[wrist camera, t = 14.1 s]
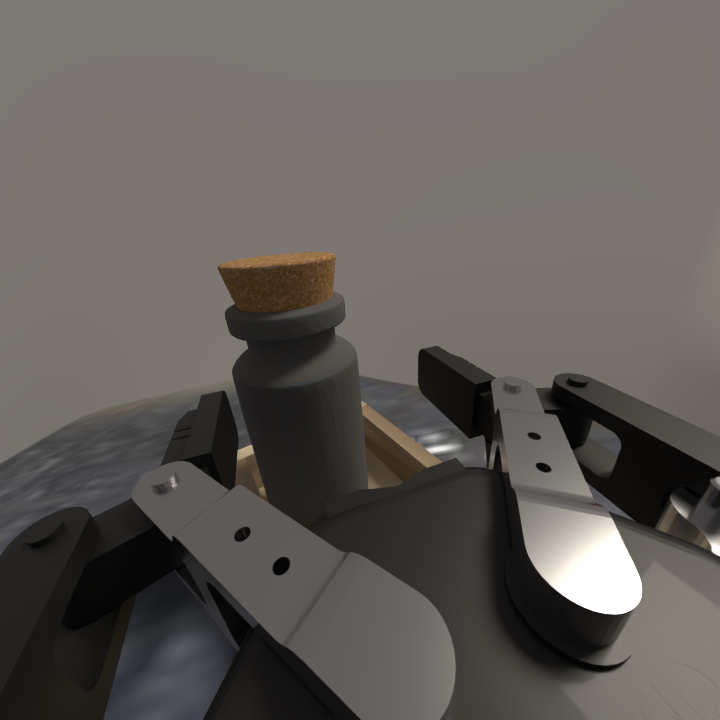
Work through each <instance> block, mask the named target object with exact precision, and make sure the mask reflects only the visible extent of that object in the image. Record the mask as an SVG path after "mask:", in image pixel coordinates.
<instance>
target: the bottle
mask: <svg viewBox="0 0 720 720" xmlns="http://www.w3.org/2000/svg"><path fill="white" fill-rule="evenodd" d="M335 257H336V256H335V255H334V254H333V253H327V252H304V253H290V254H279V255H269V256H260V257H253V258H246V259H239V260H234V261H229V262H225V263H222V264H220V265H219V266H218V270H219V272H220V274H221V276H222V278H223V281H224V283H225V285H226V287H227V289H228V291H229V292H230V295H231V297H232V299H233V301H234V303H235V304H234V305H232V306H230V307H229V308H228V309H227V310H226V311H225V319H226V322H227V325H228V329H229V332H230V333H231V335H232V336H234V337H235V338H237V339H241V340H245V341H247V345H248V349H247V350H246V351H245V352H244V353H242V355H241V356H240V357H239V358H238V359H237V361H236V363H235V365H234V366H233V370H232V374H233V380H234V383H235V387H236V391H237V394H238V398H239V402H240V405H241V409H242V413H243V416H244V420H245V423H246V427H247V430H248V434H249V437H250V441H251V444H252V447H253V451H254V454H255V458H256V461H257V465H258V468H259V472H260V475H261V478H262V482H263V485H264V489H265V492H266V495H267V499H268V502H269V504H271V505H272V506H274V507H275V508H277V509H278V510H280V511H281V512H282V513H284V514H285V515H287V516H288V517H290V518H291V519H293V520H294V521H296V522H297V523H299V524H300V525H302V526H303V527H305V528H306V529H307V528H308V527H309V526H310V525H312V524H313V523H314V522H315V521H317V520H318V519H319V518H321V517H322V516H324V515H325V508H324V503H323V502H325V501H328V500H331V499H334V498H337V497H340V496H343V495H346V494H349V493H352V492H355V491H358V490H365V489H369V488H368V475H367V463H366V451H365V439H364V426H363V414H362V403H361V391H360V381H359V370H358V361H357V355H356V350H355V348H354V347H353V346H352V344H351V343H349V342H348V341H346V340H345V339H344V338H342V337H340V336H337V335H335V329H334V327H336V326H337V325H339V324H340V323H341V322H342V321H343V320H344V318H345V303H344V298H343V296H342V295H340V294H338V293H336V292H333V281H334V269H335Z"/></svg>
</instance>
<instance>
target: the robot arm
mask: <svg viewBox="0 0 720 720" xmlns="http://www.w3.org/2000/svg"><path fill="white" fill-rule="evenodd" d="M418 356H419V357H418V384H419V388H420V391H421V393H422V394H423V395H424V396H425V397H426V398H427V399H428V400H429V401H430V402H431V403H432V404H433V405H435V406H436V407H437V408H438V409H439V410H440V411H441V412H442V413H443V414H444V415H445V416H446V417H447V418H448V419H449V420H450V421H451V422H453V423H454V424H455V425H456V426H457V427H458V428H459V429H460V430H461V431H462V432H463V433H464V434H465V435H466V436H467V437H468V438H469V439H471V438H474V437H477V436H481V435H483V436H484V443H483V447H484V463H485V468H479V467H464V466H463V465H462V464H461V463H460V462H459V461H458V459H457V458H455V459H452V460H449V461H446V462H443V463H439V464H436V465H433V466H430V467H427V468H425V469H424V470H422V471H421V472H419V473H418V474H416V475H415V476H413V477H411V478H410V479H408V480H407V481H405V482H404V483H402V484H400V485H398V486H393V487H384V488H374V489H365V490H358V491H355V492H352V493H349V494H346V495H343V496H340V497H337V498H334V499H331V500H328V501H325V502H323V503H324V508H325V515H324V516H322V517H321V518H319V519H318V520H317V521H315V522H314V523H313V524H312V525H310V526H309V527H308V528H307V529H306V528H305V527H303V526H302V525H300V524H299V523H297V522H296V521H294V520H293V519H291V518H290V517H288V516H287V515H285V514H284V513H282V512H281V511H280V510H278V509H277V508H275V507H274V506H272V505H271V504H269V503H268V502H266V501H265V500H263V499H262V498H260V497H259V496H257V495H256V494H254V493H253V492H251V491H250V490H248V489H247V488H245V487H244V486H242V485H235V481H236V467H237V453H238V432H237V427H236V424H235V420H234V417H233V414H232V411H231V407H230V404H229V401H228V398H227V395H226V393H225V391H219V392H214V393H209V394H205V395H202V396H201V399H200V402H199V405H198V408H197V410H193V411H189V412H187V413H186V414H185V415H184V416H183V417H182V418H181V419H180V420H179V421H178V423H177V426H176V428H175V433H173V436H172V438H171V441H170V443H169V446H168V448H167V451H166V453H165V456H164V458H163V461H162V463H161V466H160V467H158V468H156V469H155V470H153V471H151V472H150V473H148V474H147V475H146V476H144V477H143V478H142V479H141V480H140V481H139V482H138V483H137V485H136V486H135V488H134V489H133V492H132V498H131V499H129V500H128V501H126V502H124V503H122V504H120V505H117V506H115V507H113V508H111V509H109V510H107V511H105V512H103V513H101V514H99V515H96V516H94V517H92V516H91V514H90V513H89V511H88V510H87V509H85V508H83V507H71V508H67V509H63V510H60V511H57V512H55V513H53V514H50V515H48V516H46V517H44V518H42V519H41V520H39V521H37V522H36V523H34V524H33V525H31V526H30V527H28V528H27V529H25V530H24V531H23V532H22V533H20V534H19V535H18V536H17V537H16V538H15V539H14V540H13V541H12V542H11V543H10V544H9V545H8V546H7V548H6V549H5V550H4V552H3V553H2V554H1V556H0V720H103V717H104V714H105V710H106V706H107V702H108V699H109V695H110V691H111V687H112V684H113V680H114V676H115V672H116V669H117V665H118V661H119V657H120V653H121V650H122V646H123V642H124V638H125V635H126V631H127V627H128V623H129V620H130V616H131V612H132V608H133V605H134V601H135V597H136V594H137V593H138V592H140V591H141V590H143V589H145V588H146V587H148V586H149V585H151V584H153V583H154V582H156V581H157V580H159V579H161V578H162V577H164V576H165V575H167V574H169V573H170V572H172V571H173V572H174V573H175V574H176V575H177V576H178V578H179V579H180V580H181V581H182V582H183V583H184V585H185V586H186V587H187V588H188V589H189V590H190V592H191V593H192V594H193V595H194V596H195V597H196V599H197V600H198V601H199V602H200V603H201V604H202V606H203V607H204V608H205V609H206V610H207V612H208V613H209V614H210V615H211V616H212V618H213V619H214V621H215V622H216V623H217V625H218V626H219V628H220V630H221V631H222V632H223V634H224V635H225V637H226V638H227V639H228V641H229V642H230V643H231V644H232V646H233V647H234V648H235V649H236V651H237V654H236V656H235V658H234V660H233V662H232V664H231V666H230V668H229V670H228V672H227V674H226V676H225V678H224V680H223V682H222V684H221V686H220V688H219V690H218V691H217V693H216V695H215V697H214V699H213V701H212V703H211V705H210V707H209V709H208V711H207V713H206V715H205V717H204V719H203V720H720V437H719V436H717V435H715V434H712V433H710V432H708V431H706V430H704V429H702V428H699V427H697V426H695V425H693V424H691V423H688V422H686V421H684V420H682V419H680V418H678V417H675V416H673V415H671V414H669V413H667V412H664V411H662V410H660V409H658V408H656V407H654V406H651V405H649V404H647V403H645V402H643V401H640V400H638V399H636V398H634V397H632V396H630V395H627V394H625V393H623V392H621V391H619V390H617V389H614V388H612V387H610V386H608V385H606V384H603V383H601V382H599V381H597V380H595V379H592V378H590V377H587V376H583V375H579V374H570V373H568V374H567V373H566V374H559V375H557V376H555V378H554V381H553V386H552V388H535V387H534V386H533V385H532V384H531V383H530V382H528V381H525V380H523V379H519V378H515V377H499V378H495V377H494V376H492V375H490V374H488V373H487V372H485V371H483V370H482V369H480V368H478V367H477V368H476V366H475V365H473V364H472V363H469V362H468V361H466V360H465V359H463V358H461V357H458V356H455V355H452V354H450V353H448V352H447V351H445V350H443V349H441V348H440V347H438V346H434V347H430V348H425V349H421V350H420V351H419V355H418ZM593 420H594V421H596V422H597V423H599V424H601V425H602V426H604V427H606V428H607V429H609V430H611V431H612V432H614V433H615V434H616V435H617V436H618V437H619V439H620V441H621V450H620V452H619V455H618V456H617V455H615V454H614V453H612V452H611V451H609V450H608V449H606V448H605V447H603V446H601V445H600V444H598V443H597V442H595V441H594V440H592V439H591V438H589V437H588V434H589V431H590V428H591V425H592V422H593ZM586 482H587V483H588V484H590V485H591V486H592V487H593V488H595V489H596V490H597V491H598V492H600V493H601V494H602V495H603V496H605V497H606V498H607V499H608V500H610V501H611V502H612V503H613V504H615V505H616V506H617V507H618V508H620V509H621V510H622V511H623V512H625V513H626V514H627V515H628V516H630V517H631V518H632V519H633V520H635V521H636V522H635V521H633V520H630V519H627V518H625V517H622V516H619V515H617V514H614V513H611V512H608V511H607V509H606V508H605V507H603V506H602V505H599V504H597V503H596V502H595V500H594V499H593V497H592V494H591V492H590V490H589V488H588V485H587V483H586Z"/></svg>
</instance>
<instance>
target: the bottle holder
mask: <svg viewBox="0 0 720 720" xmlns="http://www.w3.org/2000/svg"><path fill="white" fill-rule="evenodd" d="M361 403H362V414H363V426H364V439H365V451H366V463H367V475H368V488H369V489H374V488H384V487H393V486H398V485H400V484H402V483H404V482H405V481H407V480H408V479H410V478H411V477H413V476H415V475H416V474H418V473H419V472H421V471H422V470H424V469H425V468H427V467H430V466H433V465H436V464H439V463H443V462H441V461H440V460H439V459H437V458H436V457H435V456H433V455H432V454H431V453H429V452H428V451H427V450H426V449H424V448H423V447H422V446H420V445H419V444H418V443H416V442H415V441H414V440H412V439H411V438H410V437H408V436H407V435H406V434H405V433H403V432H402V431H401V430H399V429H398V428H397V427H395V426H394V425H393V424H391V423H390V422H389V421H387V420H386V419H385V418H384V417H382V416H381V415H380V414H378V413H377V412H376V411H374V410H373V409H372V408H370V407H369V406H368V405H366V404H365V403H364V402H363V401H361ZM235 485H242V486H244V487H245V488H247V489H248V490H250V491H251V492H253V493H254V494H256V495H257V496H259V497H260V498H262V499H263V500H265V501H266V502H268V499H267V495H266V492H265V489H264V485H263V482H262V478H261V475H260V472H259V468H258V465H257V461H256V458H255V454H254V451H253V447H252V445H249V446H247V447H245V448H242V449H240V450H238V453H237V467H236V481H235ZM268 503H269V502H268Z"/></svg>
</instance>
